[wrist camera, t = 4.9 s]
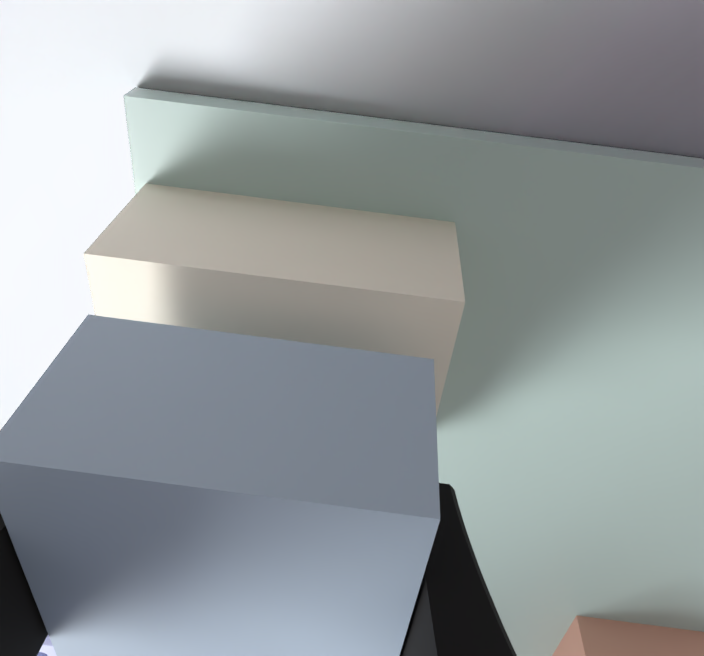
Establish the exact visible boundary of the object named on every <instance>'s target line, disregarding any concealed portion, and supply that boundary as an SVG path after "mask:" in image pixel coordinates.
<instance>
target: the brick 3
mask: <svg viewBox="0 0 704 656" xmlns="http://www.w3.org/2000/svg"><path fill="white" fill-rule="evenodd" d="M552 656H704V632H701V631H693V630H686V629H678V628H670V627H662V626H655V625H647V624H639V623H631V622H624V621H616V620H608V619H600V618H593V617H585V616H577V615H576V617H575V619H574V620H573V622H572V624H571V625H570V627H569V629H568V630H567V632H566V633H565V635H564V637H563V638H562V640H561V642H560V643H559V645H558V647H557V648H556V650H555V652H554V653H553V655H552Z"/></svg>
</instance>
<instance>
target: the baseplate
mask: <svg viewBox="0 0 704 656" xmlns="http://www.w3.org/2000/svg"><path fill="white" fill-rule="evenodd" d="M124 103H125V111H126V120H127V128H128V136H129V144H130V153H131V161H132V169H133V178H134V186H135V194H137V193H138V192H139V190H140V189H141V188H142V187H143V186H144V185H145V184H146V183H147V184H155V185H163V186H171V187H179V188H187V189H195V190H203V191H211V192H219V193H227V194H235V195H243V196H251V197H259V198H267V199H274V200H282V201H290V202H298V203H306V204H314V205H322V206H330V207H338V208H346V209H354V210H362V211H370V212H378V213H386V214H394V215H402V216H409V217H417V218H425V219H433V220H441V221H449V222H455V225H456V233H457V241H458V248H459V256H460V264H461V272H462V280H463V287H464V295H465V305H464V309H463V313H462V317H461V321H460V325H459V329H458V333H457V337H456V341H455V345H454V349H453V353H452V357H451V361H450V365H449V369H448V373H447V377H446V381H445V385H444V388H443V392H442V396H441V400H440V404H439V408H438V412H437V416H436V425H437V450H438V474H439V483H444V484H450V485H451V486H452V487H453V489H454V490H455V494H456V498H457V501H458V505H459V508H460V512H461V515H462V518H463V521H464V525H465V528H466V531H467V534H468V537H469V540H470V543H471V545H472V548H473V551H474V554H475V556H476V559H477V562H478V565H479V567H480V570H481V573H482V575H483V578H484V580H485V583H486V585H487V588H488V590H489V593H490V595H491V597H492V600H493V602H494V605H495V607H496V609H497V612H498V614H499V617H500V619H501V621H502V624H503V626H504V628H505V631H506V633H507V635H508V637H509V639H510V642H511V644H512V646H513V648H514V651H515V653H516V655H517V656H552V655H553V653H554V652H555V650H556V648H557V647H558V645H559V643H560V642H561V640H562V638H563V637H564V635H565V633H566V632H567V630H568V629H569V627H570V625H571V624H572V622H573V620H574V619H575V617H576V615H577V616H585V617H593V618H600V619H608V620H616V621H624V622H631V623H639V624H647V625H655V626H662V627H670V628H678V629H686V630H693V631H701V632H704V159H703V158H695V157H687V156H679V155H671V154H663V153H655V152H647V151H639V150H631V149H623V148H615V147H607V146H599V145H591V144H583V143H575V142H567V141H559V140H551V139H543V138H535V137H527V136H519V135H511V134H503V133H495V132H487V131H479V130H471V129H463V128H455V127H447V126H439V125H431V124H423V123H415V122H407V121H399V120H391V119H383V118H376V117H368V116H360V115H352V114H344V113H336V112H328V111H320V110H312V109H304V108H296V107H288V106H280V105H272V104H264V103H256V102H248V101H240V100H232V99H224V98H216V97H208V96H200V95H192V94H184V93H176V92H168V91H160V90H152V89H144V88H136V87H135V88H134V89H132V90H131V91H130V92H128V93H127V94H125V95H124Z"/></svg>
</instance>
